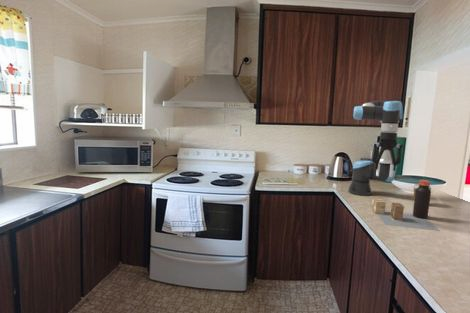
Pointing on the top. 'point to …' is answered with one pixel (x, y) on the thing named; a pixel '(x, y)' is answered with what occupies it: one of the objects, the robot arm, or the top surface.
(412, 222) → the mat
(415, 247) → the top surface
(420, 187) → the vinegar
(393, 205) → the walnut block
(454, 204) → the top surface
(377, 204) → the oak block
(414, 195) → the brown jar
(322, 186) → the top surface
